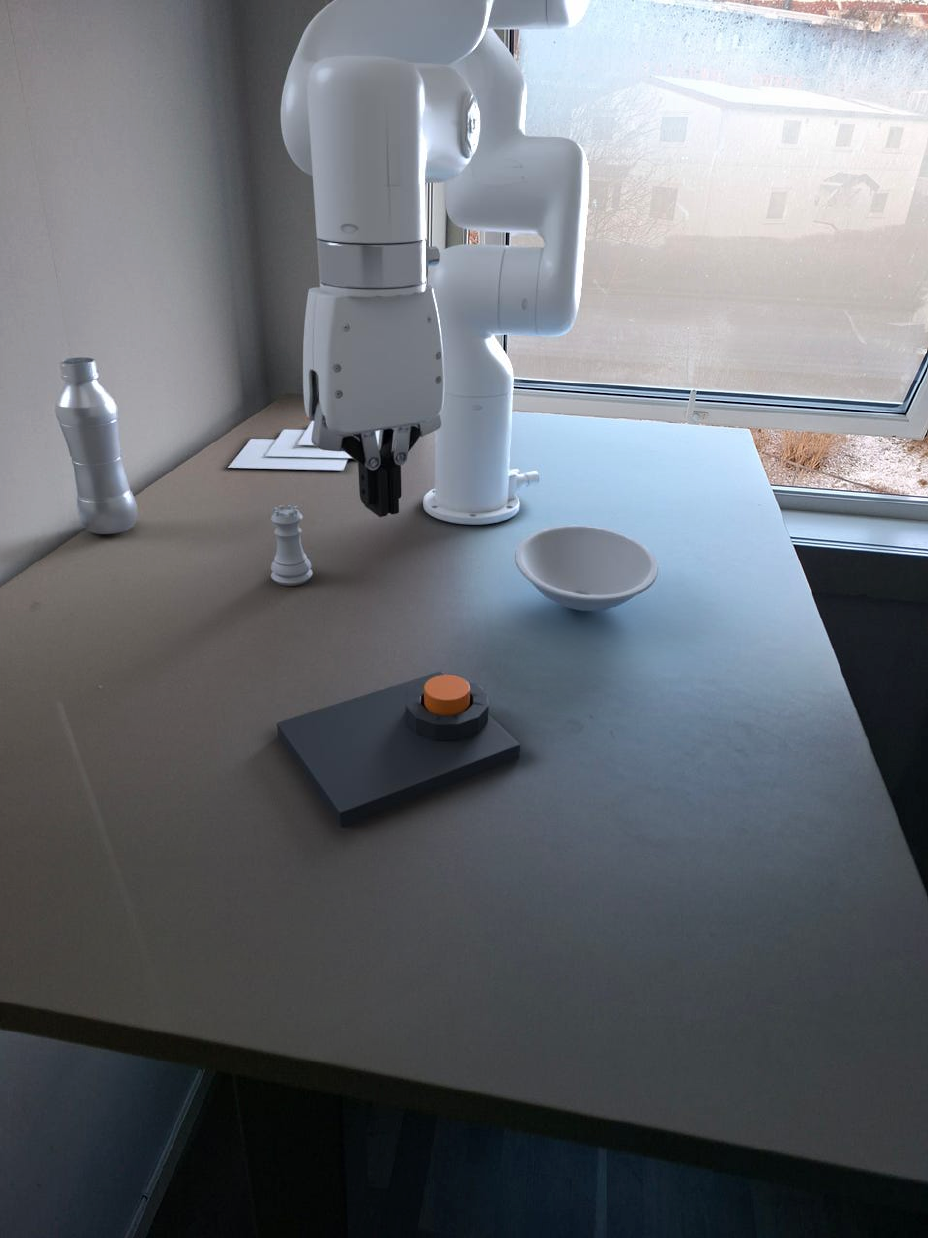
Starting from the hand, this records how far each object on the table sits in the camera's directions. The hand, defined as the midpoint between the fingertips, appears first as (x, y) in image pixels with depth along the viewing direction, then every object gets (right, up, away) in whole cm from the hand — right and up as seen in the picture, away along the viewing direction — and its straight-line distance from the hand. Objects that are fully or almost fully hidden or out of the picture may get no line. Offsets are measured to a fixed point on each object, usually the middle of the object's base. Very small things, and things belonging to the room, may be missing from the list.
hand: (381, 509), depth 68 cm
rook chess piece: (-12, -5, +23) cm, 26 cm away
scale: (+2, -19, -3) cm, 19 cm away
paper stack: (-15, +18, +63) cm, 68 cm away
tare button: (+5, -16, -2) cm, 17 cm away
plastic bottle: (-36, +2, +33) cm, 49 cm away
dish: (+19, -7, +19) cm, 28 cm away
